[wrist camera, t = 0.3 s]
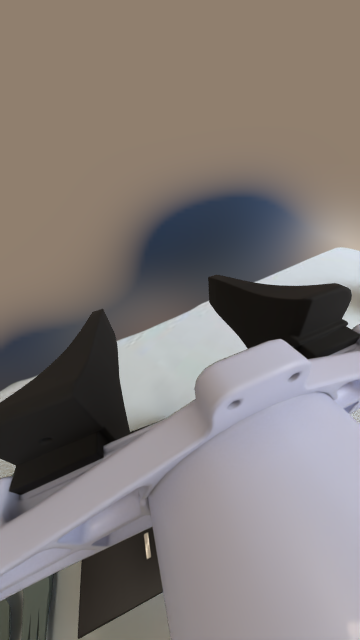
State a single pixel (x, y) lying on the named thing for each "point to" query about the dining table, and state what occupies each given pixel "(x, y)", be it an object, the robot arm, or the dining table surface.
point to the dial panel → (118, 580)
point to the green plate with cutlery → (29, 611)
